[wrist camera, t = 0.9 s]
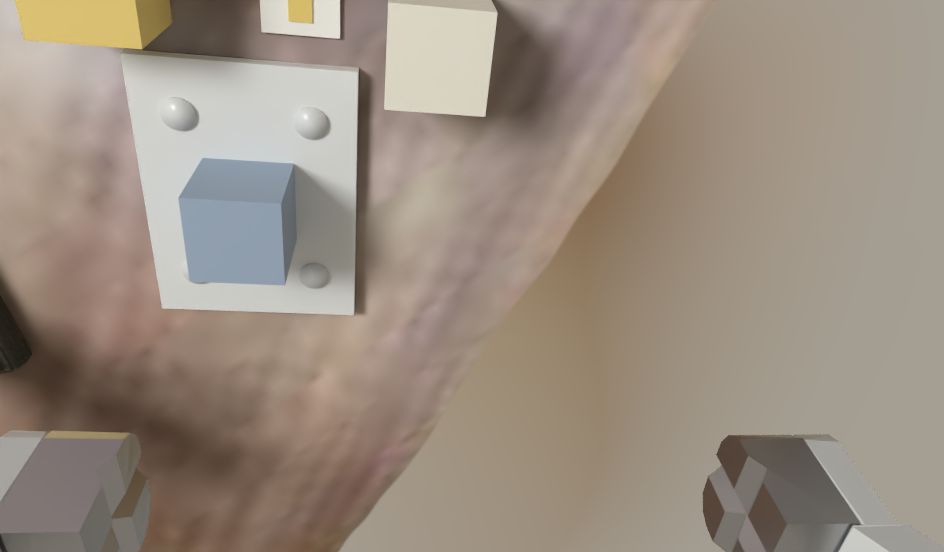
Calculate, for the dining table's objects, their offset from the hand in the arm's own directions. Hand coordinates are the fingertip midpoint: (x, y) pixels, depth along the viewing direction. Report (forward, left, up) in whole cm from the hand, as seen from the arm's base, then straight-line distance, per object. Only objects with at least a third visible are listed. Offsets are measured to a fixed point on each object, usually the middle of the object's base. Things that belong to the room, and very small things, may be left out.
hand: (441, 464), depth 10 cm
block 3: (+2, +1, -31) cm, 31 cm away
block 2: (+12, -9, -31) cm, 34 cm away
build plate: (+12, -9, -31) cm, 35 cm away
